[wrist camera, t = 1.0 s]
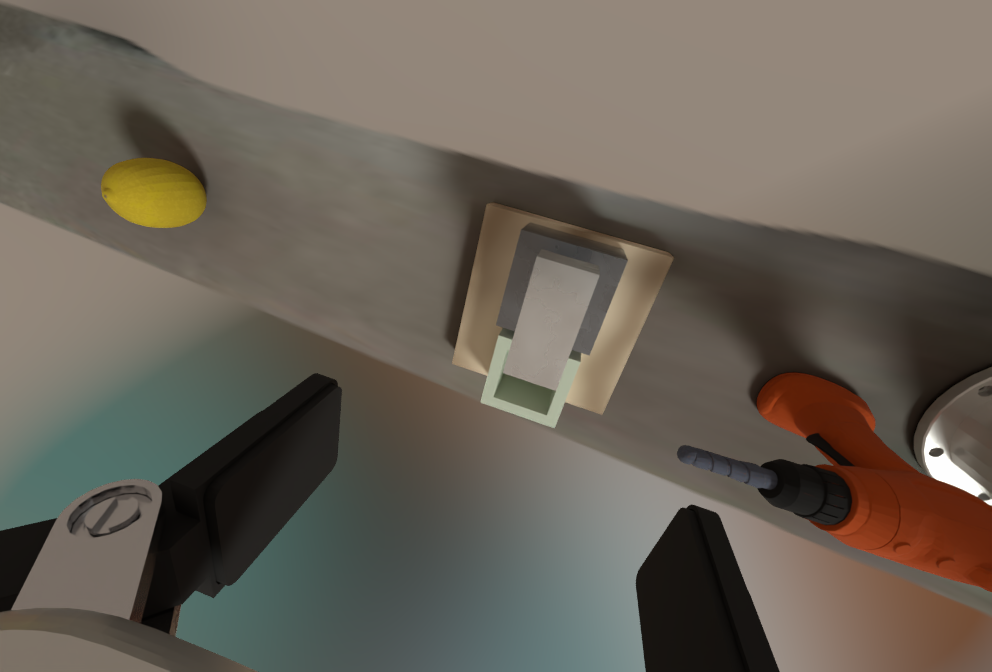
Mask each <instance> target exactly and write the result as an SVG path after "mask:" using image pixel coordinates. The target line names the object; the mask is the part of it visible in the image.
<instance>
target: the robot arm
mask: <svg viewBox="0 0 992 672" xmlns="http://www.w3.org/2000/svg"><path fill="white" fill-rule="evenodd" d="M341 395H342V389H341V388H340V387H338V383H337V381H336V380H335V379H331V378H329V377H326V376H323V375H320V374H318V373H317V374H313V375H311V376H310V377H308V378H307V379H306V380H304V381H303V382H301V383H300V384H299V385H297V386H296V387H295V388H293V389H292V390H291V391H289V392H288V393H286V394H285V395H284V396H282V397H281V398H280V399H278V400H277V401H276V402H274V403H273V404H272V405H270V406H269V407H267V408H266V409H265V410H263V411H261V412H259V413H257V414H256V415H255V416H253V417H252V418H250V419H249V420H248V421H246V422H245V423H244V424H242V425H241V426H239V427H238V428H237V429H235V430H234V431H233V432H231V433H230V434H229V435H227V436H226V437H225V438H223V439H222V440H220V441H219V442H218V443H216V444H215V445H213V446H212V447H211V448H209V449H208V450H207V451H205V452H204V453H202V454H201V455H200V456H198V457H197V458H196V459H194V460H193V461H192V462H190V463H189V464H187V465H186V466H185V467H183V468H182V469H181V470H179V471H178V472H177V473H175V474H174V475H172V476H171V477H170V478H168V479H167V480H165V481H164V482H163V483H161V484H160V485H159V486H158V485H156V484H154V483H152V482H150V481H147V480H141V479H130V480H121V481H117V482H112V483H108V484H105V485H103V486H100V487H98V488H96V489H93V490H91V491H89V492H87V493H86V494H84V495H82V496H81V497H79V498H77V499H76V500H74V501H73V502H72V503H71V504H70V505H69V506H68V507H66V508H65V509H64V510H63V511H62V513H61V514H60V516H59V517H58V518H56V519H51V520H46V521H42V522H38V523H33V524H29V525H24V526H20V527H15V528H11V529H7V530H3V531H0V672H257V671H255V670H253V669H250V668H248V667H246V666H244V665H241V664H239V663H237V662H235V661H232V660H230V659H227V658H225V657H223V656H220V655H218V654H216V653H213V652H211V651H208V650H206V649H203V648H201V647H199V646H196V645H194V644H191V643H189V642H186V641H184V640H181V639H179V638H177V637H176V631H177V626H178V620H179V615H180V609H181V604H183V603H184V602H185V601H186V599H187V598H189V596H190V595H191V594H192V593H193V592H194V591H195V590H196V591H199V592H201V593H203V594H205V595H208V596H211V597H212V598H214V597H215V596H216V594H218V593H219V592H220V590H221V589H222V588H223V587H224V586H225V585H227V586H230V585H232V584H233V583H235V582H236V581H237V580H238V579H239V578H240V576H241V575H242V574H243V573H244V572H245V571H246V570H247V568H248V567H249V566H250V565H251V564H252V563H253V561H254V560H255V559H256V558H257V557H258V556H259V554H260V553H261V552H262V551H263V550H264V549H265V548H266V546H267V545H268V544H269V543H270V542H271V541H272V539H273V538H274V537H275V536H276V535H277V534H278V532H279V531H280V530H281V529H282V528H283V527H284V525H285V524H286V523H287V522H288V521H289V519H290V518H291V517H292V516H293V515H294V514H295V513H296V511H297V510H298V509H299V508H300V507H301V506H302V504H303V503H304V502H305V501H306V500H307V499H308V497H309V496H310V495H311V494H312V493H313V492H314V491H315V489H316V488H317V487H318V486H319V485H320V483H321V482H322V481H323V480H324V479H325V478H326V476H327V475H328V474H329V473H330V472H331V471H332V469H333V468H334V466H335V464H336V461H337V456H338V441H339V424H340V411H341ZM914 452H915V455H916V459H917V461H918V463H919V464H920V466H921V467H922V469H923V470H924V472H925V473H926V474H928V475H929V476H930V477H931V478H934V479H937V480H940V481H943V482H945V483H948V484H951V485H953V486H956V487H958V488H960V489H963V490H965V491H967V492H969V493H971V494H973V495H975V496H977V497H978V498H980V499H981V500H983V501H984V502H986V503H987V504H989V505H992V367H990V368H988V369H985V370H983V371H980V372H978V373H976V374H973V375H971V376H970V377H968V378H966V379H964V380H963V381H961V382H959V383H957V384H956V385H954V386H953V387H951V388H950V389H949V390H947V391H946V392H945V393H944V394H942V395H941V396H940V397H938V398H937V399H936V401H935V402H934V403H933V404H932V405H931V406H930V407H929V408H928V409H927V410H926V412H925V413H924V415H923V417H922V418H921V420H920V422H919V423H918V426H917V429H916V432H915V435H914ZM636 590H637V599H638V608H639V616H640V625H641V634H642V641H643V650H644V660H645V668H646V672H779V669H778V667H777V664H776V661H775V658H774V656H773V653H772V651H771V648H770V645H769V643H768V640H767V638H766V635H765V632H764V630H763V627H762V625H761V622H760V619H759V617H758V614H757V612H756V609H755V606H754V604H753V601H752V598H751V596H750V594H749V592H748V590H747V587H746V585H745V582H744V579H743V577H742V574H741V572H740V569H739V566H738V564H737V561H736V558H735V556H734V553H733V550H732V548H731V545H730V543H729V540H728V537H727V535H726V532H725V530H724V527H723V524H722V522H721V519H720V517H719V515H718V514H717V513H716V512H712V511H710V510H707V509H704V508H701V507H698V506H695V505H689V506H688V507H687V508H681V509H680V510H679V511H678V512H677V514H676V515H675V517H674V518H673V520H672V521H671V523H670V524H669V526H668V527H667V529H666V530H665V532H664V533H663V535H662V536H661V538H660V539H659V541H658V542H657V544H656V545H655V546H654V548H653V549H652V551H651V552H650V554H649V556H648V557H647V558H646V560H645V562H644V563H643V564H642V566H641V567H640V569H639V571H638V574H637V577H636Z"/></svg>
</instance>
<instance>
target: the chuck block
mask: <svg viewBox="0 0 992 672" xmlns="http://www.w3.org/2000/svg"><path fill="white" fill-rule="evenodd" d="M541 249H543V250H546V251H550V252H553V253H557V254H560V255H563V256H567V257H570V258H574V259H577V260H580V261H584V262H587V263H590V264H594V265H597V266H599V271H600V276H599V279H598V281H597V284H596V286H595V289H594V292H593V294H592V297H591V300H590V302H589V305H588V308H587V310H586V313H585V316H584V318H583V321H582V324H581V326H580V329H579V332H578V334H577V337H576V340H575V342H574V345H573V348H572V350H574V351H577V352H580V353H583V354H586V355H589V356H590V353H591V351H592V348H593V346H594V343H595V341H596V339H597V336H598V334H599V331H600V329H601V326H602V324H603V321H604V319H605V316H606V314H607V311H608V309H609V306H610V304H611V301H612V299H613V296H614V294H615V291H616V289H617V287H618V284H619V282H620V279H621V277H622V274H623V272H624V269H625V267H626V264H627V262H628V259H627V257H626V254H625V252H624V249H622V248H618V247H615V246H611V245H608V244H604V243H601V242H597V241H594V240H590V239H587V238H583V237H580V236H576V235H573V234H570V233H566V232H563V231H559V230H556V229H552V228H549V227H545V226H542V225H538V224H535V223H531V222H530V223H529V224H527V225H526V226H525V227H523V228H522V229H521V231H520V235H519V239H518V243H517V247H516V250H515V254H514V258H513V262H512V266H511V269H510V273H509V277H508V281H507V284H506V288H505V292H504V296H503V300H502V303H501V307H500V311H499V315H498V319H497V322H496V326H500V327H503V328H506V329H509V330H512V331H515V329H516V326H517V322H518V319H519V316H520V312H521V309H522V305H523V302H524V298H525V295H526V292H527V288H528V285H529V281H530V278H531V274H532V271H533V268H534V264H535V261H536V257H537V255H538V254H539V252H540V251H541Z"/></svg>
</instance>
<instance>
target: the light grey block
mask: <svg viewBox="0 0 992 672" xmlns="http://www.w3.org/2000/svg"><path fill="white" fill-rule="evenodd" d="M599 276H600V271H599V266H597V265H594V264H590V263H587V262H584V261H580V260H577V259H574V258H570V257H567V256H563V255H560V254H557V253H553V252H550V251H546V250H543V249H541V251H540V252H539V254H538V255H537V257H536V261H535V264H534V268H533V271H532V274H531V278H530V281H529V285H528V288H527V292H526V295H525V298H524V302H523V305H522V309H521V312H520V316H519V319H518V322H517V326H516V329H515V333H514V336H513V340H512V343H511V346H510V350H509V353H508V357H507V360H506V364H505V367H504V371H503V373H504V374H507V375H510V376H513V377H516V378H519V379H522V380H525V381H528V382H531V383H534V384H537V385H540V386H543V387H546V388H549V389H552V390H554V391H556V390H557V387H558V385H559V382H560V379H561V377H562V374H563V372H564V369H565V366H566V364H567V361H568V358H569V356H570V353H571V350H572V348H573V345H574V342H575V340H576V337H577V334H578V332H579V329H580V326H581V324H582V321H583V318H584V316H585V313H586V310H587V308H588V305H589V302H590V300H591V297H592V294H593V292H594V289H595V286H596V284H597V281H598V279H599Z"/></svg>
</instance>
